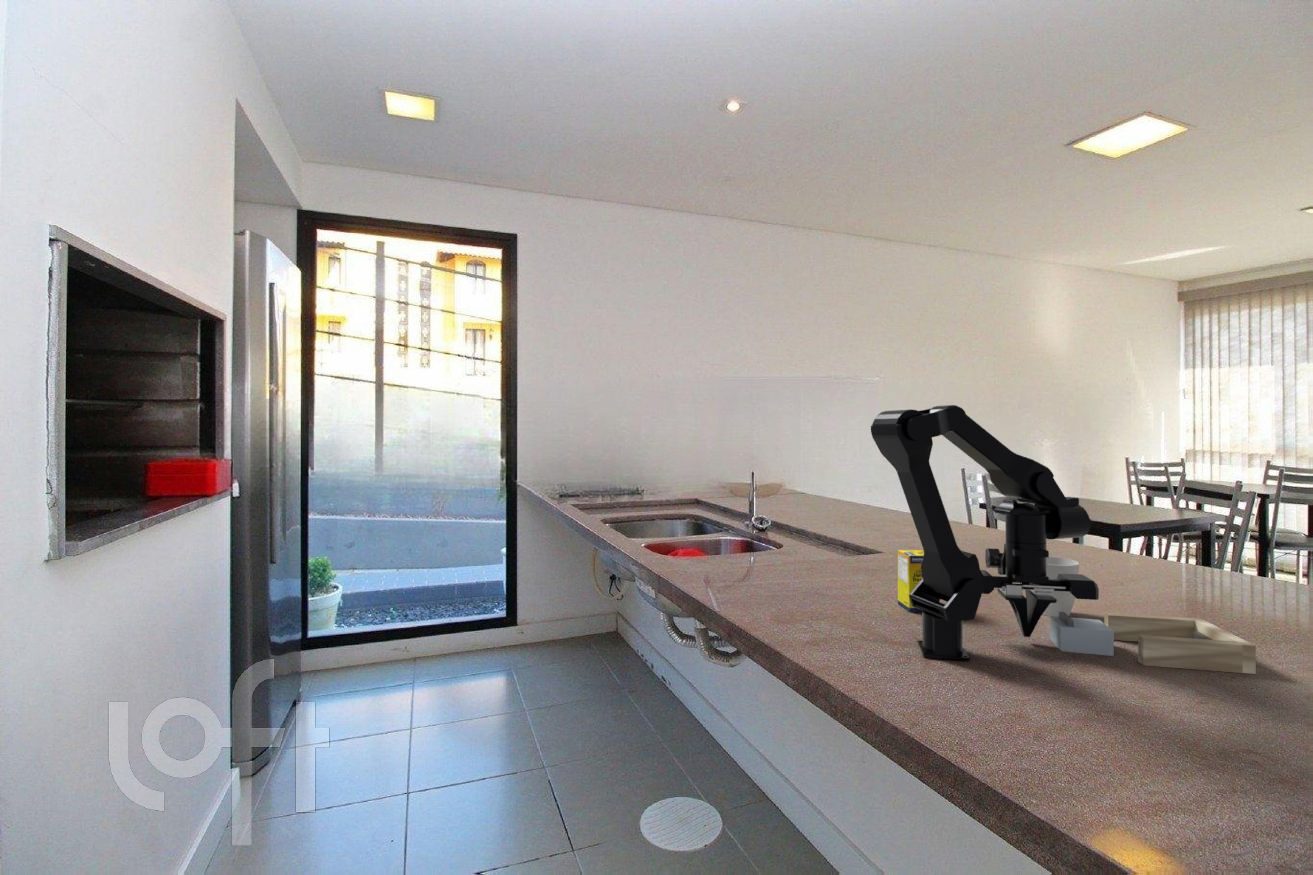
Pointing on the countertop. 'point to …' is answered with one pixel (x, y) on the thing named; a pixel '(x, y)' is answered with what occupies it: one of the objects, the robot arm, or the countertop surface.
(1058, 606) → the cup
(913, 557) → the supplement box
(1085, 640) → the sliding lid
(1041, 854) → the countertop surface
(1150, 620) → the tray
